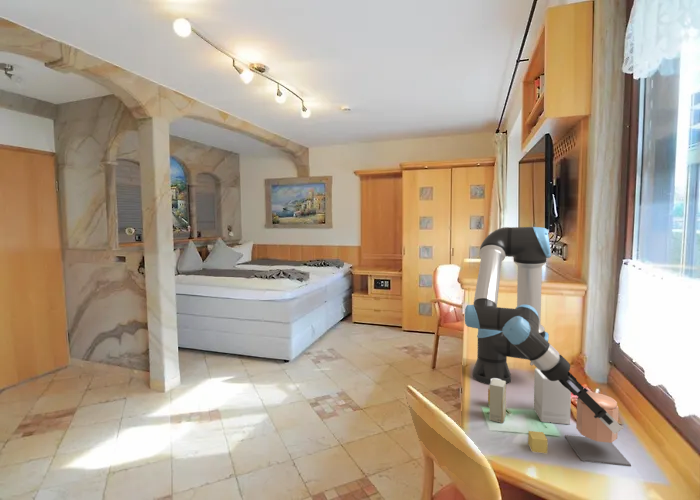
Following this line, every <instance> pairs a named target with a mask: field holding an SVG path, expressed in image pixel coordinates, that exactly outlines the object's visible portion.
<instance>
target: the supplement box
mask: <svg viewBox="0 0 700 500" xmlns="http://www.w3.org/2000/svg"><path fill="white" fill-rule="evenodd" d="M533 378H534V379H533V380H534V385H533V386H534V387H533V390H534V391H533V411H534V412H535V414H536V415H537V417H538V419H539V420H540V422H541V423H550V422H551V424H552V423H553V424H564V425H571V406H572V405H571V403H572V402H571V401H572V400H571V399H572V398H571V397H572V393H571V392H570V391H569V390H568V389H567V388H565V387H564V386H563V385H562V384H561V383H560V382H559V381H558V380H557V381H550V380H548V379H547V378H546V377H545V376H544V375H543V374H542V373H541V371H540V370H539V369H538V368H537V367H536V368H535V367H534V376H533Z"/></svg>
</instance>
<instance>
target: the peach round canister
mask: <svg viewBox="0 0 700 500" xmlns="http://www.w3.org/2000/svg"><path fill="white" fill-rule="evenodd" d="M586 393H587V394H588V395H589V396H590V397H591V398H592V399H593V400H594V401H595V402H596V403H598V404H599V405H600V406H601V407H602V408H603V409H604V410H605V411H606V412H607V413H608V414H609V415H610V416H611V417H612V418H613V419H614V420H615V421H617V422H618V423H619V406H618V401H616V400H615V399H614V398H613V397H611V396H609V395H606V394H602V393H600V392H594V391H593V392H592V391H588V392H586ZM594 416H595V413H594V412H593V411H592V410H591V409H590V408H589V407H588V406H587V405H586V404H585V403H584V402H583V401H582V400H581V399H580V398H579V397H578V396H577V398H576V422H575V423H576V424H575V425H576V426H575V427H576V430H577V431H578V432H579V433H580V435H582V437H588V438H590V439H592V440H595V441H599V442H609V443H614V442H615V441H616V440H617V439H618V433H619V432H617V433H616V434H614V433H613V432H612V431H611V430H610V429H609V428H608V427H607V426H606V425H605V424H604V423H603V422H602V421H601V420H600V419H599V418H598V417H597V418H595V417H594Z"/></svg>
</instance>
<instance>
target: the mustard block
mask: <svg viewBox="0 0 700 500" xmlns="http://www.w3.org/2000/svg"><path fill="white" fill-rule="evenodd" d="M527 433H528V437H527V438H528V439H527V441H528V442H527V445H528V447H529V448H530V450H531V452H532V453H541V454H548V445H549V444H548V439H547V436H546V434H545V433H544V432H543V431H534V430H528V432H527Z"/></svg>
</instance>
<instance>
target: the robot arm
mask: <svg viewBox="0 0 700 500" xmlns="http://www.w3.org/2000/svg"><path fill="white" fill-rule="evenodd" d="M550 245H551V243H550V238H549V231H548V229H547V228H545V227H539V226H518V227H517V226H515V227H514V226H513V227H512V226H511V227H510V226H509V227H507V226H505V227H501V228H497V229H495V230H494V231H492V232H491V233H489V234H488V235H487V236H486V237H485V239H484V240H483V241H482V243H481V244H480V247H479V252H478V256H479V258H480V263H479V267H478V268H479V269H478V275H477V280H476V286H475V292H474V298H473V304H467V305H466V306H465V308H464V309H465V310H464V323H465V326H466V327H467V328H468V327H469V328H472V329H477V336H476V338H477V353H476V354H477V358H476V362H475V365H474V367H473V370H472V377H473V379H474V380H475V381H477V382H480V383H481V384H486V385H490V380H491V379H492V378H498V379H501V380H503V381H506V385H508V384H510V383H511V381H512V375H511V372H510V369H509V366H508V363H507V358H515V359H521V360H528V361H529V364H530V366H535V367H536V368H537V369H539V370H540V371H541V373H542V374H543V375H544V376H545V377H546V378H547V379H548V380H550V381H557V380H558V381H559V382H560V383H561V384H562V385H563V386H564V387H565V388H567V389H568V390H569V391H570V392H571V395H573V396H576V397H577V398H578V397H579V398H580V399H581V400H582V401H583V402H584V403H585V404H586V405H587V406H588V407H589V408H590V409H591V410H592V411H593V412H594V413H595V416H594V417H595V418H597V417H598V418H599V419H600V420H601V421H602V422H603V423H604V424H605V425H606V426H607V427H608V428H609V429H610V430H611V431H612V432H613V433H614V434H616V433H617V432H618V433H619V432H620V431H622V430H624V427H623V426H622V425H621V424H619V421H618V422H617V421H615V420H614V419H613V418H612V417H611V416H610V415H609V414H608V413H607V412H606V411H605V410H604V409H603V408H602V407H601V406H600V405H599V404H598V403H596V402H595V401H594V400H593V399H592V398H591V397H590V396H589V395H588V394H587V393H586V392H589V390H588V389H587V388H586V387H584V386H583V385H582V384H581V383H580V382H579V381H578V380H577V378H576V377H575V376H574V375H573V374H572V373H571V372H570V371H571V370H570V369H571V364H570V363H569V361H568V360H567V359H566V358H565V357H563V356H562V354H560V352H559V351H558V350H557V349H556V348H555V347H554V346H553V345H552V344H550V342H549V333H548V332H547V331H545V330H546V329H545V327H544V326H543V325H542V323H541V320H542V319H541V318H542V317H541V316H542V284H543V283H542V278H543V275H542V274H543V266H544V265H545V264H547V259H549V258H551V256H552V255H551V246H550ZM506 257H507V258H508V257H511V258H513V263H515V264H516V265H517V278H516V280H517V282H516V283H517V285H516V287H517V288H516V293H517V294H516V297H517V299H516V300H517V301H516V307H515V308H509V307H499V306H498V299H499V291H500V281H501V272H502V264H503V261H504V260H505V259H506Z"/></svg>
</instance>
